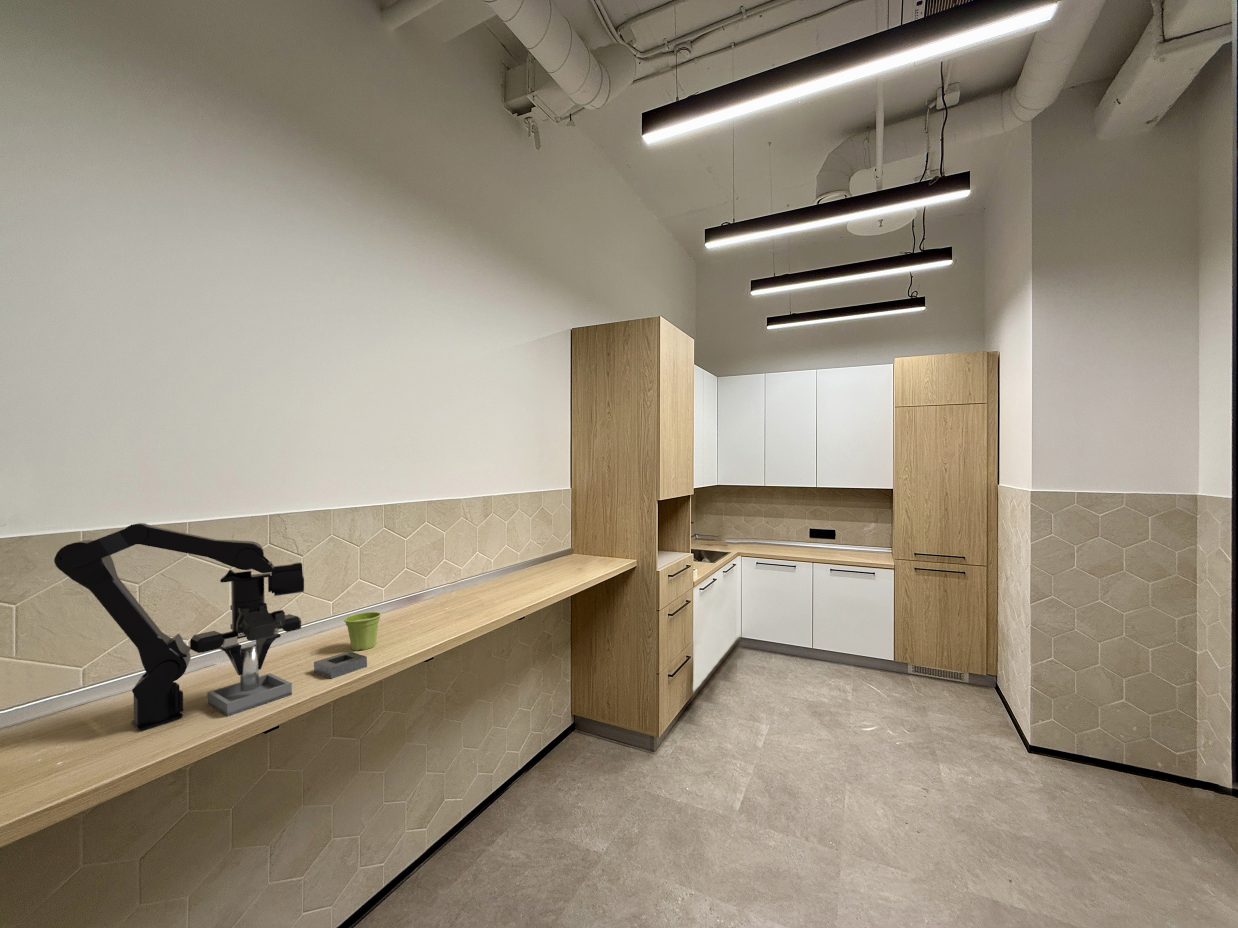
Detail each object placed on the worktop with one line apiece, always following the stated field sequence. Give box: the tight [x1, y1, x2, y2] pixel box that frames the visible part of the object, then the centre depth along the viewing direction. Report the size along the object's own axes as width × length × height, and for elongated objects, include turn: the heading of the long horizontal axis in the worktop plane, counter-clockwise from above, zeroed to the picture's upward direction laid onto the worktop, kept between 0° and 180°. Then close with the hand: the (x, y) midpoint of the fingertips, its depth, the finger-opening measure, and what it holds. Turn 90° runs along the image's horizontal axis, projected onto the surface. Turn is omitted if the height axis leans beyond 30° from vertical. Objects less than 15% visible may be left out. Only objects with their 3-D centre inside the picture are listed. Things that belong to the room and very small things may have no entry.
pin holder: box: [313, 650, 368, 679], centre depth 122 cm, size 9×9×2 cm
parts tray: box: [206, 672, 293, 717], centre depth 107 cm, size 12×12×2 cm
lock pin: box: [239, 643, 260, 691], centre depth 107 cm, size 3×3×9 cm
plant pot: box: [343, 611, 382, 651], centre depth 139 cm, size 9×9×9 cm
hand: (249, 671), depth 107 cm, fingers closed on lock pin, 3 cm apart
